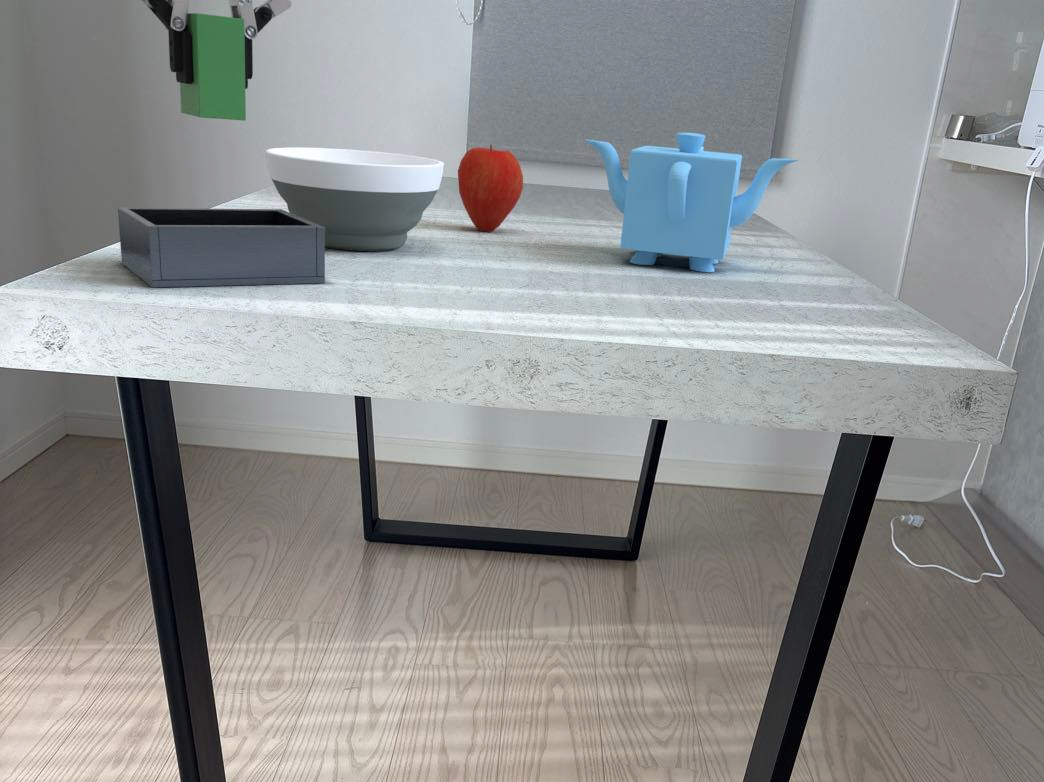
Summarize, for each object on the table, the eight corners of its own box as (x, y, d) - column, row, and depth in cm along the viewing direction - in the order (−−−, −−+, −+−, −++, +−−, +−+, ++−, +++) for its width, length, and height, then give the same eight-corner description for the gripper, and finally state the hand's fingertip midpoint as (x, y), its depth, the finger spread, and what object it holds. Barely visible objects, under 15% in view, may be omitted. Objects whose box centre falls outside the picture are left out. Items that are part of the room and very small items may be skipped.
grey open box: (152, 287, 90) (148, 226, 88) (121, 263, 99) (117, 207, 97) (325, 283, 98) (325, 226, 96) (282, 261, 107) (281, 209, 105)
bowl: (447, 262, 114) (450, 170, 110) (260, 252, 111) (258, 156, 107) (434, 236, 132) (437, 155, 128) (273, 227, 128) (272, 143, 125)
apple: (530, 232, 142) (537, 147, 138) (497, 237, 135) (503, 148, 131) (477, 224, 146) (482, 141, 142) (442, 228, 139) (446, 141, 135)
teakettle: (664, 278, 116) (682, 136, 111) (568, 249, 131) (579, 122, 125) (785, 274, 126) (808, 144, 121) (684, 248, 140) (700, 130, 135)
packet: (246, 120, 92) (244, 18, 89) (199, 117, 90) (196, 13, 87) (225, 115, 97) (223, 18, 93) (180, 112, 94) (177, 13, 91)
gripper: (289, -135, 92) (289, 91, 99) (85, -177, 84) (101, 74, 91) (321, -146, 87) (319, 95, 94) (105, -191, 78) (121, 78, 85)
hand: (212, 83), depth 92 cm, fingers closed on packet, 4 cm apart
